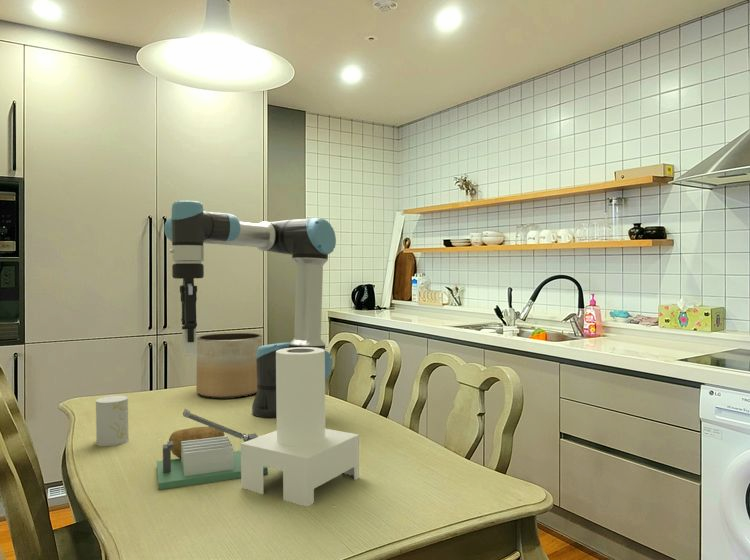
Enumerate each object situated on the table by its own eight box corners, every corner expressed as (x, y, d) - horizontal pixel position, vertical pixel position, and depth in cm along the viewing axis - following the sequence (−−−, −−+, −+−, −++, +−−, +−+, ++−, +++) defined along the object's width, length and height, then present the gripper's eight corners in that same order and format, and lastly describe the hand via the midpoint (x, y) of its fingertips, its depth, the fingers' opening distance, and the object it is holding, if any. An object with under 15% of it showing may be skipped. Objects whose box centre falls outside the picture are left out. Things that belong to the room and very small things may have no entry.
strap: (244, 439, 138) (247, 433, 138) (247, 442, 135) (249, 437, 135) (182, 414, 132) (184, 408, 132) (182, 417, 129) (185, 411, 130)
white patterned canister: (116, 446, 152) (115, 403, 152) (89, 445, 154) (89, 401, 153) (134, 438, 160) (134, 396, 160) (109, 436, 161) (108, 395, 161)
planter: (184, 398, 208) (183, 339, 208) (214, 384, 233) (214, 332, 233) (248, 401, 204) (247, 340, 203) (272, 386, 229) (272, 332, 228)
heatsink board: (255, 454, 145) (255, 424, 145) (267, 473, 131) (267, 440, 131) (157, 467, 136) (156, 435, 136) (158, 489, 122) (158, 454, 122)
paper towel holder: (307, 507, 113) (306, 360, 112) (241, 488, 123) (239, 352, 122) (359, 477, 129) (358, 348, 128) (296, 462, 139) (295, 342, 138)
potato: (230, 458, 142) (230, 426, 142) (174, 469, 134) (174, 436, 134) (217, 448, 150) (217, 418, 150) (163, 458, 142) (163, 427, 142)
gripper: (170, 263, 148) (171, 348, 149) (174, 262, 129) (175, 360, 130) (199, 263, 151) (200, 346, 152) (207, 262, 132) (209, 357, 133)
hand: (189, 352), depth 141 cm, fingers open, 8 cm apart
